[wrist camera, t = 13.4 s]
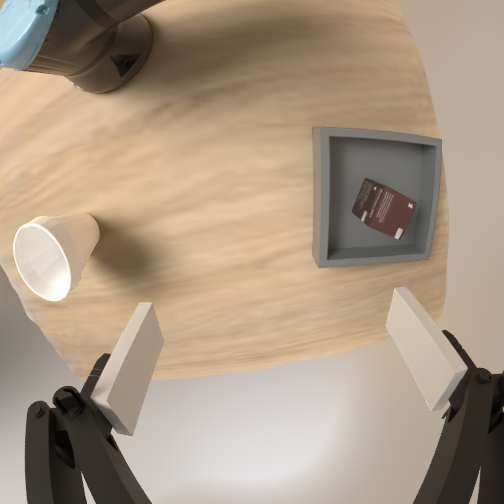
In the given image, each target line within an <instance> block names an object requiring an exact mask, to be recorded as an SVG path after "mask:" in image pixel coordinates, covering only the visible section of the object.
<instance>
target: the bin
mask: <svg viewBox="0 0 504 504" xmlns="http://www.w3.org/2000/svg"><path fill="white" fill-rule="evenodd" d="M312 134H313V176H314V213H313V257H314V259H315V261H316V264H317V266H318V268H328V267H342V266H356V265H369V264H382V263H395V262H407V261H418V260H429V255H430V250H431V245H432V240H433V234H434V228H435V221H436V214H437V206H438V197H439V187H440V174H441V153H442V140H441V139H437V138H431V137H425V136H419V135H412V134H405V133H397V132H388V131H379V130H367V129H354V128H335V127H314V128H312ZM365 178H368V179H371V180H373V181H375V182H378V183H380V184H382V185H384V186H386V187H389V188H391V189H393V190H395V191H397V192H398V193H400V194H402V195H404V196H406V197H408V198H410V199H411V200H413V201H415V202H417V205H416V207H415V210H414V212H413V214H412V217H411V220H410V223H409V224H408V226H407V228H406V230H405V232H404V234H403V237H402V239H401V240H398V239H396V238H393V237H391V236H389V235H386V234H384V233H381V232H379V231H376V230H374V229H372V228H369V227H368V226H367V225H366V224H365V223H364V222H362V221H361V220H360V219H359V218H358V217H357V216H355V215H354V214H353V213H352V209H353V206H354V204H355V201H356V198H357V196H358V193H359V191H360V189H361V186H362V184H363V182H364V179H365Z"/></svg>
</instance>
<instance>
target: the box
mask: <svg viewBox="0 0 504 504" xmlns="http://www.w3.org/2000/svg"><path fill="white" fill-rule="evenodd" d="M416 205H417V202H415V201H413V200H411V199H410V198H408V197H406V196H404V195H402V194H400V193H398V192H397V191H395V190H393V189H391V188H389V187H386V186H384V185H382V184H380V183H378V182H375V181H373V180H371V179H368V178H365V179H364V182H363V184H362V186H361V189H360V191H359V193H358V196H357V198H356V201H355V204H354V206H353V209H352V213H353V214H354V215H355V216H357V217H358V218H359V219H360V220H361V221H362V222H364V223H365V224H366V225H367V226H368V227H369V228H372V229H374V230H376V231H379V232H381V233H384V234H386V235H389V236H391V237H393V238H396V239H398V240H401V239H402V237H403V234H404V232H405V230H406V228H407V226H408V224H409V223H410V220H411V217H412V214H413V212H414V210H415V207H416Z"/></svg>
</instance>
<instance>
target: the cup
mask: <svg viewBox="0 0 504 504" xmlns="http://www.w3.org/2000/svg"><path fill="white" fill-rule="evenodd" d="M99 237H100V231H99V227H98V224H97V222H96V221H95V219H94V218H93V217H92V216H91V215H89V214H87V213H84V212H80V213H73V214H67V215H60V216H54V217H46V216H41V217H36V218H35V219H33V220H32V221H30V222H29V223H27V224H25V225H23V226H22V227H20V229H19V230H18V232H17V233H16V236H15V240H14V257H15V262H16V265H17V268H18V270H19V272H20V274H21V276H22V278H23V280H24V281H25V282H26V284H27V285H28V287H29V288H30V289H31V290H32V291H33V292H34V293H36V294H37V295H39V296H40V297H42V298H44V299H46V300H49V301H59V300H63V299H64V298H65V297H66V296H67V295H68V294H69V292H70V291H71V290H72V289H74V288H75V287H76V286H77V285H78V283H79V281H80V279H81V273H82V270H83V268H84V266H85V265H86V263H87V261H88V259H89V257H90V255H91V253H92V251H93V250H94V248H95V246H96V244H97V243H98V241H99Z"/></svg>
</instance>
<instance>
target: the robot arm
mask: <svg viewBox="0 0 504 504" xmlns="http://www.w3.org/2000/svg"><path fill="white" fill-rule="evenodd" d="M163 1H165V0H6V2H5V3H4V5H3V7H2V8H1V10H0V66H2V67H6V68H12V69H14V70H16V71H29V72H39V73H47V74H55V75H62V76H65V77H66V78H68V79H69V81H70V82H71V83H72V84H73V85H74V86H75V87H76V88H78V89H80V90H82V91H85V92H91V93H105V92H109V91H112V90H115V89H117V88H119V87H121V86H122V85H124V84H125V83H127V82H128V81H129V80H130V79H132V78H133V77H134V76H135V75H136V74H137V73H138V71H139V70H140V69H141V68H142V66H143V65H144V63H145V61H146V60H147V58H148V56H149V53H150V50H151V47H152V41H153V34H152V29H151V26H150V24H149V23H148V21H147V20H146V19H145V18H144V17H143V16H142V15H141V14H140V12H142V11H144V10H146V9H148V8H150V7H152V6H154V5H156V4H158V3H161V2H163ZM385 327H386V329H387V331H388V333H389V334H390V336H391V338H392V340H393V341H394V343H395V345H396V346H397V348H398V350H399V352H400V354H401V355H402V358H403V359H404V361H405V363H406V365H407V367H408V369H409V371H410V372H411V374H412V376H413V378H414V380H415V382H416V384H417V386H418V388H419V390H420V392H421V394H422V396H423V398H424V400H425V402H426V404H427V406H428V408H429V410H430V412H433V411H436V410H438V409H441V408H443V407H444V405H445V404H446V403H447V401H448V400H449V402H450V404H451V405H450V407H449V408H448V409H447V411H446V412H445V414H444V415H443V417H442V419H444V417H445V416H446V415H447V416H446V420H445V423H444V427H443V430H442V433H441V436H440V439H439V442H438V445H437V448H436V451H435V454H434V456H433V459H432V462H431V464H430V467H429V469H428V472H427V474H426V476H425V479H424V481H423V483H422V485H421V488H420V490H419V492H418V494H417V496H416V499H415V500H414V502H413V504H469V501H470V498H471V496H472V493H473V490H474V487H475V484H476V480H477V477H478V474H479V470H480V466H481V471H480V484H479V494H478V501H477V504H504V412H503V407H504V371H503V373H502V374H491V373H490V372H489V371H488V370H487V369H484V368H477V367H476V366H475V364H474V363H473V361H472V360H471V358H470V357H469V356H468V354H467V353H466V352H465V350H464V349H462V346H461V345H460V344H459V343H458V341H457V339H456V338H455V337H454V335H452V334H451V333H449V332H448V331H447V330H443V331H441V330H440V328H439V327H438V326H437V324H436V323H435V322H434V321H433V319H432V318H431V317H430V315H429V314H428V313H427V312H426V310H425V309H424V308H423V307H422V305H421V304H420V303H419V302H418V301H417V299H416V298H415V297H414V296H413V294H412V293H411V292H410V291H409V290H408V289H407V287H406V286H405V287H396V288H394V292H393V297H392V301H391V305H390V309H389V313H388V317H387V321H386V325H385ZM163 343H164V339H163V336H162V333H161V330H160V327H159V323H158V320H157V317H156V313H155V310H154V307H153V303H152V302H140V303H139V305H138V306H137V308H136V310H135V312H134V313H133V315H132V317H131V319H130V320H129V322H128V324H127V326H126V328H125V330H124V331H123V333H122V335H121V337H120V339H119V341H118V343H117V345H116V346H115V348H114V350H113V352H112V354H106V353H104V354H103V355H102V356H101V357H100V358H99V359H98V360H97V362H96V364H95V365H94V367H93V370H92V371H91V373H90V376H89V377H88V379H87V381H86V383H85V385H84V386H83V388H82V391H81V393H80V394H79V392H78V391H77V389H76V388H74V387H72V386H65V387H62V388H60V389H59V390H58V391H56V393H55V394H54V396H53V404H54V405H55V406H56V407H57V408H50V407H49V406H48V405H47V403H46V402H44V401H37V402H34V403H33V404H31V406H30V407H29V408H28V412H27V421H26V436H25V437H26V438H25V479H26V492H27V502H28V504H87V501H86V497H85V492H84V487H83V481H82V475H81V471H82V474H83V476H84V479H85V481H86V483H87V485H88V488H89V490H90V492H91V494H92V496H93V498H94V500H95V502H96V504H152V503H151V501H150V500H149V499H148V497H147V496H146V494H145V493H144V491H143V489H142V488H141V486H140V485H139V483H138V482H137V480H136V478H135V476H134V475H133V473H132V471H131V470H130V468H129V466H128V464H127V463H126V461H125V459H124V457H123V455H122V453H121V451H120V450H119V448H118V446H117V444H116V442H115V440H114V438H113V436H112V435H111V430H112V427H113V428H114V429H115V430H116V432H117V433H119V434H124V435H130V436H133V433H134V430H135V427H136V424H137V420H138V417H139V414H140V410H141V407H142V404H143V401H144V398H145V395H146V392H147V389H148V386H149V383H150V380H151V377H152V374H153V371H154V368H155V365H156V362H157V359H158V357H159V354H160V351H161V348H162V345H163Z"/></svg>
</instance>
